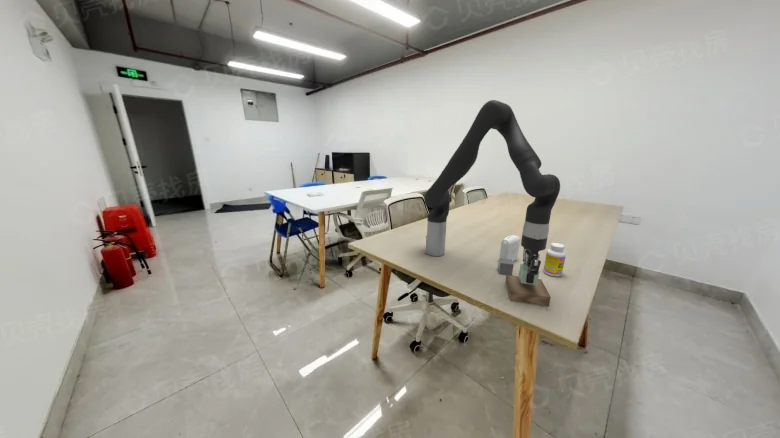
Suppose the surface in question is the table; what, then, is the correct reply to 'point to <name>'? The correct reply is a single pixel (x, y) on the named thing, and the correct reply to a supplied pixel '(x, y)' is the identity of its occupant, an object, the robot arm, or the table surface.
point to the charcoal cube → (505, 266)
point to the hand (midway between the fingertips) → (527, 278)
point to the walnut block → (527, 291)
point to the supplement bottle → (554, 260)
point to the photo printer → (510, 247)
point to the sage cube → (524, 274)
